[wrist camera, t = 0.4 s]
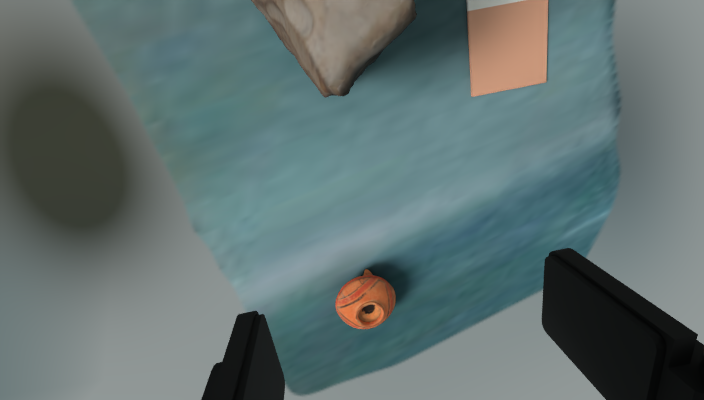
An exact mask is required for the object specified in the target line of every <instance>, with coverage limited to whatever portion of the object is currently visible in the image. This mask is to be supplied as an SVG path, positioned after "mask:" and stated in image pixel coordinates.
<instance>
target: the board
mask: <svg viewBox="0 0 704 400" xmlns="http://www.w3.org/2000/svg"><path fill="white" fill-rule="evenodd" d="M466 3H467V22H468V41H469V60H470V80H471V97H474V96H479V95H484V94H489V93H494V92H499V91H504V90H509V89H514V88H519V87H525V86H530V85H535V84H540V83H545V82H546V73H547V29H548V0H466Z"/></svg>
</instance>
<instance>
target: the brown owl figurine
mask: <svg viewBox="0 0 704 400" xmlns="http://www.w3.org/2000/svg"><path fill="white" fill-rule="evenodd" d="M251 1H252V2H253V3H254V4H255V6H256V7H257V8H258V9H259V10H260V11H261V12H262V13H263V14H264V15H265V17H266V19H267V20H268V22H269V23H270V24H271V26H272V27H273V29H274V31H275V32H276V34H277V35H278V37H279V38H280V40H281V41H282V42H283V44H284V45H285V47H286V48H287V49H288V50H289V51H290V52H291V53H292V54H293V55H294V56H295V57H296V59H297V61H298V63H299V64H300V66H301V67H302V68H303V70H304V71H305V73H306V74H307V75H308V77H309V78H310V79H311V80H312V82H313V83H314V84H315V85H316V87H317V88H318V90H319V91H320V92H321V94H322V95H323V96H324V97H328V96H331V95H338V96H345V95H347V94H348V93H349V91H350V88H351V87H352V86H353V85H354V82H355V81H356V80H357V79H358V77H359V76H360V75H361V74H362V73H363V72H364V70H365V69H366V68H367V67H368V66H369V65H370V64H372V63H373V62H374V61H375V60H376V59H377V58H378V56H379V55H380V54H381V52H382V51H383V50H384V49H385V48H386V47H387V46H388V45H389V44H390V43H391V42H392V41H393V40H394V39H395V38H397V37H398V36H399V35H400V34H401V33H402V32H403V31H404V29H405V28H406V27H407V26H408V25H409V24H410V23H411V22H412V21H413V20H414V19H415V18H416V16H417V13H416V11H415V2H414V0H251Z"/></svg>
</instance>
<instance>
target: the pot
mask: <svg viewBox="0 0 704 400" xmlns="http://www.w3.org/2000/svg"><path fill="white" fill-rule="evenodd" d="M395 301H396V295H395V291H394V288H393V287H392V286H391V285H390V284H389V283H388V282H387V281H386V280H385V279H383V278H381V277H378V276H374V275H372V273H371V272H370V271H369V270H368V269H365V271H364V275H363V276H359V277H356V278H354V279H352V280H350V281H349V282H347V283H346V284H345V285H344V286H343V287H342V289H341V290H340V292H339V293H338V296H337V298H336V310H337V313H338V315H339V316H340V317H341V319H342V320H343V321H344V322H345V323H347V324H348V325H350V326H352V327H354V328H357V329H370V328H373V327H376V326H378V325H379V324H381V323H383V322H384V321H385V320H386V319H387V318H388V317H389V316H390V314H391V313H392V311H393V309H394V306H395Z"/></svg>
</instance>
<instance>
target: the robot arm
mask: <svg viewBox="0 0 704 400" xmlns="http://www.w3.org/2000/svg"><path fill="white" fill-rule="evenodd" d="M542 307H543V308H542V325H543V328H544V330H545V331H546V333H547V334H548V335H549V336H550V337H551V339H552V340H553V341H554V342H555V343H556V344H557V345H558V346H559V348H560V349H561V350H562V351H563V352H564V353H565V354H566V355H567V356H568V358H569V359H570V360H571V361H572V362H573V363H574V364H575V365H576V367H577V368H578V369H579V370H580V371H581V372H582V373H583V374H584V375H585V377H586V378H587V379H588V380H589V381H590V382H591V383H592V384H593V386H594V387H596V389H597V390H598V391H599V392H600V393H601V394H602V396H603V397H604V398H605V399H606V400H704V345H703V344H702V343H700V342H699V341H697V340H696V339H697V336H698V334H696V333H695V332H693V331H692V330H690V329H689V328H687V327H686V326H685V325H683V324H682V323H680V322H679V321H677V320H676V319H674V318H673V317H671V316H670V315H668V314H667V313H665V312H664V311H662V310H661V309H659V308H658V307H656V306H655V305H654V304H652V303H651V302H649V301H648V300H646V299H645V298H643V297H642V296H640V295H639V294H637V293H636V292H635V291H633V290H632V289H630V288H629V287H627V286H626V285H624V284H623V283H621V282H620V281H618V280H617V279H615V278H614V277H612V276H611V275H610V274H608V273H606V272H605V271H604V270H602V269H601V268H599V267H598V266H596V265H595V264H593V263H592V262H590V261H589V260H588V259H586V258H585V257H583V256H582V255H580V254H579V253H577V252H576V251H574V250H573V249H571V248H566V249H561V250H556V251H552V252H550V253H549V257H546V259H545V266H544V286H543V306H542ZM284 391H285V380H284V375H283V372H282V368H281V365H280V362H279V359H278V356H277V353H276V350H275V346H274V343H273V340H272V337H271V334H270V331H269V328H268V325H267V321H266V318H265V316H264V314H261V315H259V314H258V312H257V311H252V312H247V313H243V314H239V315H238V316H237V318H236V321H235V324H234V328H233V331H232V334H231V337H230V340H229V343H228V346H227V349H226V352H225V355H224V358H223V362H220V363H216V364H215V365H214V367H213V369H212V371H211V374H210V377H209V379H208V382H207V385H206V388H205V391H204V394H203V397H202V400H284Z"/></svg>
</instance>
